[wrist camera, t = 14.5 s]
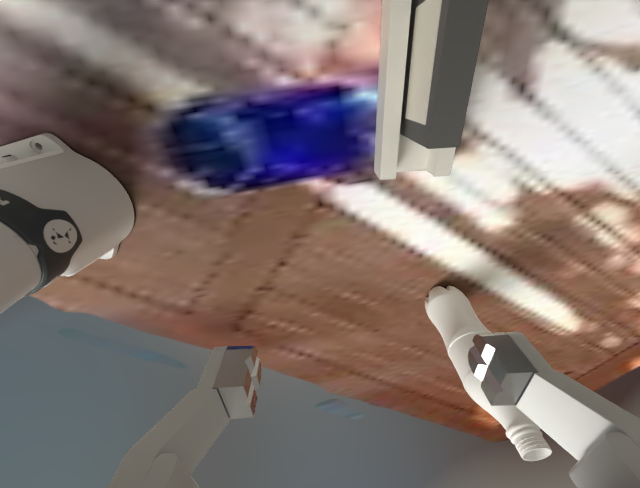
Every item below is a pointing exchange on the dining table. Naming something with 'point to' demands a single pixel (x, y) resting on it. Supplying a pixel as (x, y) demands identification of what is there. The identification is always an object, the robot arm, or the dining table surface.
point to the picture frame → (440, 69)
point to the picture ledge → (399, 103)
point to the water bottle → (458, 332)
